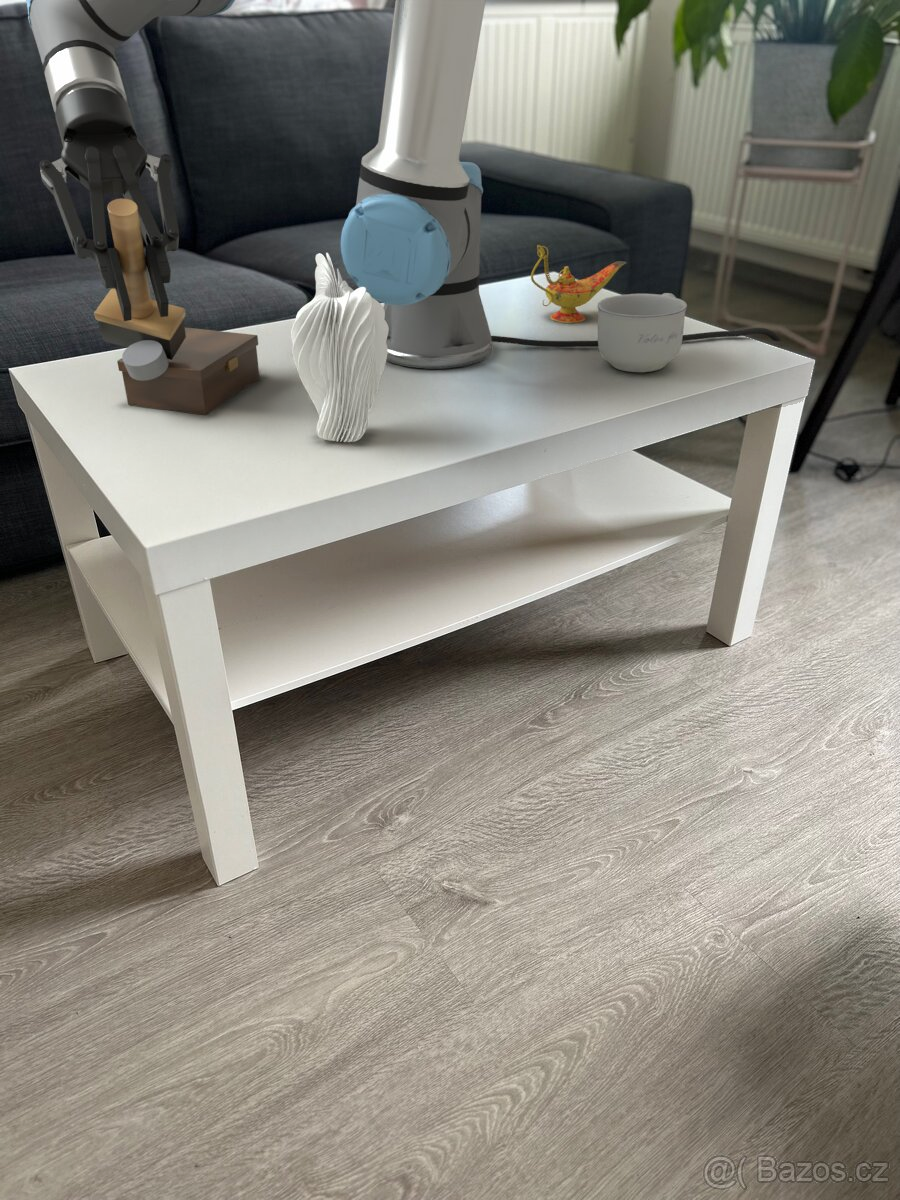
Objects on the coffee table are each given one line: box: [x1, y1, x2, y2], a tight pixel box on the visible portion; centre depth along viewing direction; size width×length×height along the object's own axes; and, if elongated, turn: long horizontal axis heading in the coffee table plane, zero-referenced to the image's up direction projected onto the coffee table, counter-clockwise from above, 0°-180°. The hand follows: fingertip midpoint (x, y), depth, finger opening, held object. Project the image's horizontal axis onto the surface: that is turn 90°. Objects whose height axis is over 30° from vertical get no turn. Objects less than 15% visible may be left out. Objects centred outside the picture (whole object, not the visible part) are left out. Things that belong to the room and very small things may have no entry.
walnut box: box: [116, 326, 260, 416], centre depth 108 cm, size 11×13×5 cm
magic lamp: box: [530, 244, 627, 324], centre depth 134 cm, size 7×18×11 cm, turn 125°
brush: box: [93, 198, 186, 360], centre depth 97 cm, size 8×4×16 cm, turn 80°
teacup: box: [597, 292, 688, 373], centre depth 117 cm, size 14×11×8 cm
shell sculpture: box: [290, 252, 389, 443], centre depth 93 cm, size 8×8×18 cm
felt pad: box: [121, 340, 169, 381], centre depth 100 cm, size 4×4×2 cm
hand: (146, 311), depth 93 cm, fingers closed on brush, 3 cm apart
